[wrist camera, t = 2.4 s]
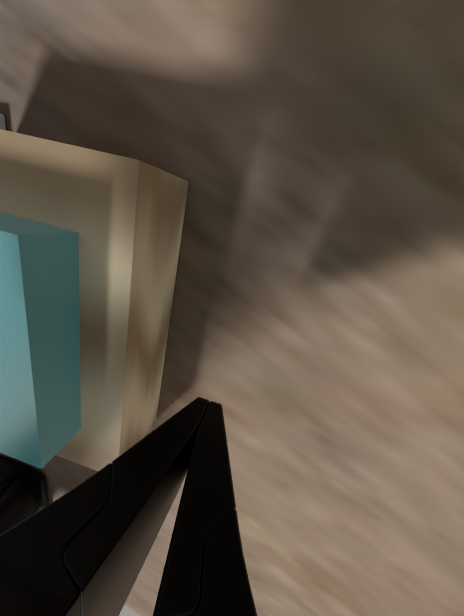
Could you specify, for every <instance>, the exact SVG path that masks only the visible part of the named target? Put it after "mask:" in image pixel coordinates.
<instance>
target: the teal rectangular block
mask: <svg viewBox="0 0 464 616" xmlns="http://www.w3.org/2000/svg"><path fill="white" fill-rule="evenodd" d="M80 430H81V392H80V319H79V245H78V232H75V231H71V230H68V229H64V228H60V227H56V226H52V225H49V224H45V223H41V222H37V221H34V220H30V219H26V218H22V217H18V216H15V215H11V214H7V213H3V212H0V453H2V454H4V455H7V456H9V457H12V458H15V459H17V460H20V461H22V462H25V463H27V464H30V465H33V466H35V467H38V468H40V469H42V468H43V467H44V466H45V465H46V464H47V463H48V462H49V461H50V460H51V459H52V458H53V457H54V456H55V455H56V454H57V453H58V452H59V451H60V450H61V449H62V448H63V447H64V446H65V445H66V444H67V443H68V442H69V441H70V440H71V439H72V438H73V437H74V436H75V435H76V434H77V433H78V432H79V431H80Z"/></svg>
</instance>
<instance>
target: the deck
mask: <svg viewBox="0 0 464 616" xmlns="http://www.w3.org/2000/svg"><path fill="white" fill-rule="evenodd" d="M188 185H189V181H187V180H184V179H182V178H180V177H177V176H175V175H173V174H170V173H168V172H166V171H163V170H161V169H159V168H157V167H154V166H152V165H150V164H147V163H145V162H143V161H140V160H137V159H132V158H128V157H123V156H119V155H114V154H110V153H105V152H101V151H96V150H92V149H87V148H83V147H78V146H74V145H69V144H65V143H60V142H56V141H51V140H47V139H42V138H38V137H33V136H29V135H24V134H20V133H15V132H11V131H6V130H2V129H0V212H3V213H7V214H11V215H15V216H18V217H22V218H26V219H30V220H34V221H37V222H41V223H45V224H49V225H52V226H56V227H60V228H64V229H68V230H71V231H75V232H78V245H79V319H80V392H81V430H80V431H79V432H78V433H77V434H76V435H75V436H74V437H73V438H72V439H71V440H70V441H69V442H68V443H67V444H66V445H65V446H64V447H63V448H62V449H61V450H60V451H59V452H58V453H57V454H56V456H59V457H61V458H64V459H67V460H69V461H72V462H74V463H77V464H80V465H82V466H85V467H88V468H90V469H93V470H96V471H100V470H101V469H102V468H104V467H105V466H106V465H108V464H109V463H111V464H112V461H113V460H115V459H116V458H117V457H119V456H120V455H121V454H123V453H124V452H125V451H127V450H128V449H129V448H131V447H132V446H133V445H135V444H136V443H137V442H139V441H140V440H141V439H143V438H144V437H145V436H146V434H147V433H148V431H149V429H150V428H151V426H152V425H153V423H154V422H155V420H156V418H157V411H158V404H159V396H160V389H161V382H162V375H163V367H164V360H165V353H166V345H167V338H168V331H169V324H170V316H171V309H172V302H173V294H174V287H175V280H176V273H177V265H178V258H179V251H180V243H181V236H182V229H183V221H184V214H185V207H186V200H187V192H188Z"/></svg>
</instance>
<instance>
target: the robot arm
mask: <svg viewBox="0 0 464 616" xmlns="http://www.w3.org/2000/svg"><path fill="white" fill-rule="evenodd" d="M186 474H187V475H186ZM185 476H186V479H185V483H184V488H183V492H182V496H181V500H180V504H179V508H178V513H177V517H176V521H175V525H174V529H173V534H172V538H171V542H170V546H169V550H168V555H167V559H166V563H165V567H164V571H163V575H162V580H161V584H160V588H159V592H158V596H157V601H156V605H155V609H154V613H153V616H257V613H256V609H255V604H254V600H253V596H252V592H251V588H250V583H249V579H248V574H247V569H246V565H245V560H244V555H243V550H242V544H241V538H240V532H239V525H238V518H237V511H236V510H235V509H236V504H235V497H234V490H233V482H232V475H231V468H230V460H229V453H228V446H227V438H226V431H225V424H224V416H223V409H222V405H221V404H219V403H216V402H213V401H211V402H209V400H207V399H204V398H201V397H198V398H196V399H195V400H194V401H192V402H191V403H190V404H188V405H187V406H186V407H184V408H183V409H182V410H180V411H179V412H178V413H176V414H175V415H174V416H172V417H171V418H170V419H168V420H167V421H166V422H164V423H163V424H161V425H160V426H159V427H157V428H156V429H155V430H153V431H152V432H151V433H149V434H148V435H147V436H145V437H144V438H143V439H141V440H140V441H139V442H137V443H136V444H135V445H133V446H132V447H131V448H129V449H128V450H127V451H125V452H124V453H123V454H121V455H120V456H119V457H117V458H116V459H115V460H113V461H112V464H111V463H109V464H108V465H106V466H105V467H104V468H102V469H101V470H100V471H98V472H97V473H96V474H94V475H93V476H91V477H90V478H89V479H87V480H86V481H84V482H83V483H82V484H80V485H79V486H77V487H76V488H74V489H73V490H71V491H70V492H68V493H67V494H65V495H63V496H62V497H60V498H59V499H57V500H56V501H54V502H53V503H51V504H49V505H48V503H47V493H46V483H45V477H44V476H43V475H42V474H41V473H39V472H36V471H34V470H31V469H28V468H26V467H23V466H21V465H18V464H16V463H13V462H11V461H8V460H5V459H3V458H0V616H119V614H120V612H121V610H122V607H123V606H124V603H125V601H126V599H127V597H128V595H129V593H130V591H131V589H132V587H133V585H134V583H135V580H136V578H137V576H138V574H139V572H140V570H141V568H142V566H143V564H144V562H145V560H146V557H147V555H148V553H149V551H150V549H151V547H152V545H153V543H154V541H155V539H156V537H157V534H158V532H159V530H160V528H161V526H162V524H163V522H164V520H165V518H166V516H167V514H168V512H169V509H170V507H171V505H172V503H173V501H174V499H175V497H176V495H177V493H178V491H179V489H180V486H181V484H182V482H183V480H184V478H185Z"/></svg>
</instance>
